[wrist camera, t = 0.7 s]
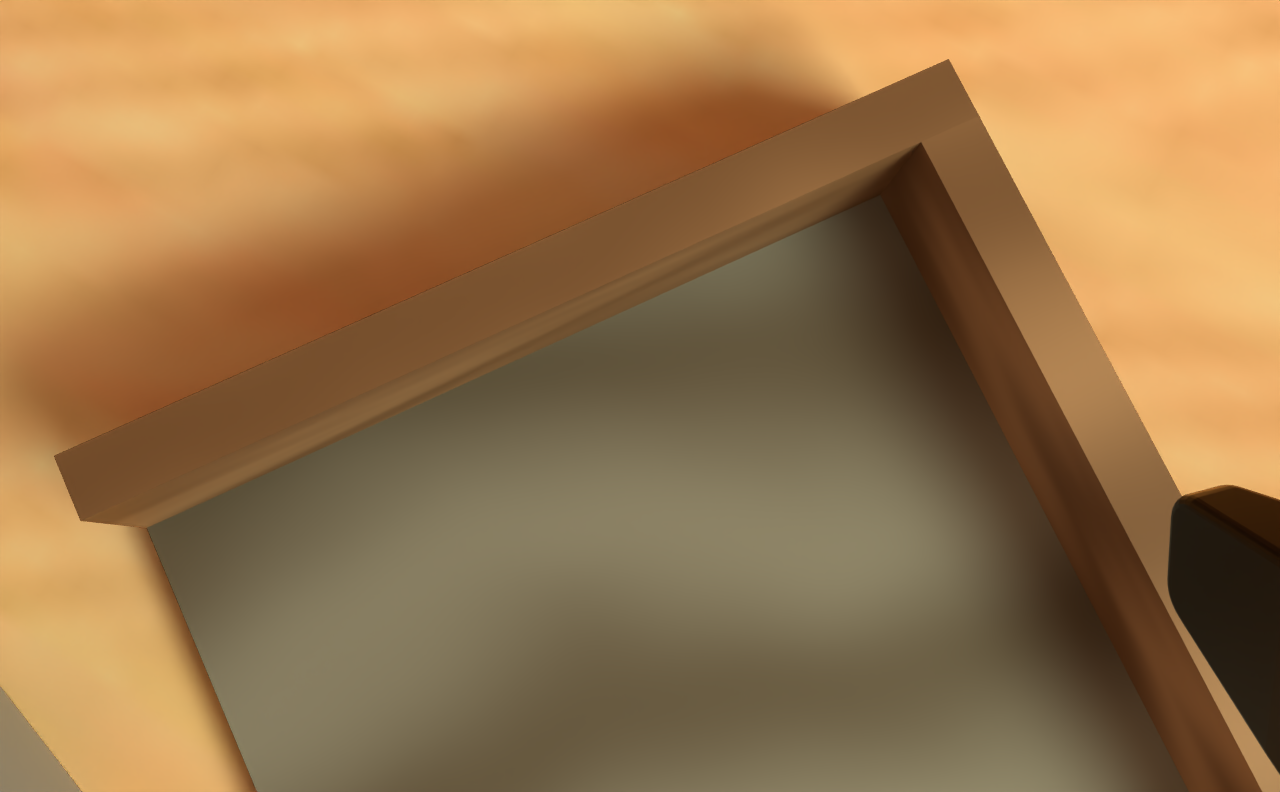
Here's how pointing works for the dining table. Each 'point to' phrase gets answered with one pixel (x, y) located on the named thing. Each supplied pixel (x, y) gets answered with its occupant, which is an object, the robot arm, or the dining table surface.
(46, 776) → the slate block
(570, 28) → the dining table surface
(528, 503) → the tray
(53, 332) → the dining table surface
